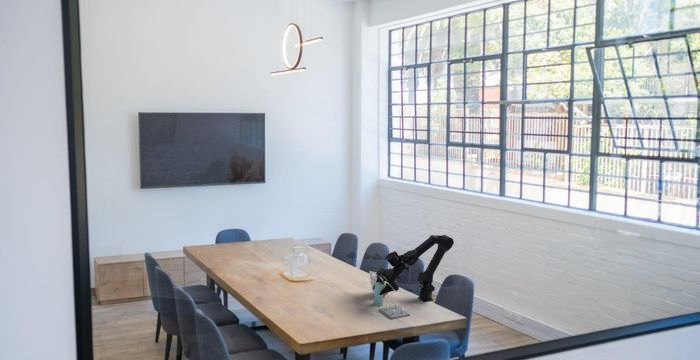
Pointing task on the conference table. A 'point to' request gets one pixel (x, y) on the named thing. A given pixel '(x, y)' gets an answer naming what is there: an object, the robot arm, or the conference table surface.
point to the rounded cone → (377, 297)
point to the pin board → (394, 312)
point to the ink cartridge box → (373, 280)
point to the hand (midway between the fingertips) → (376, 291)
